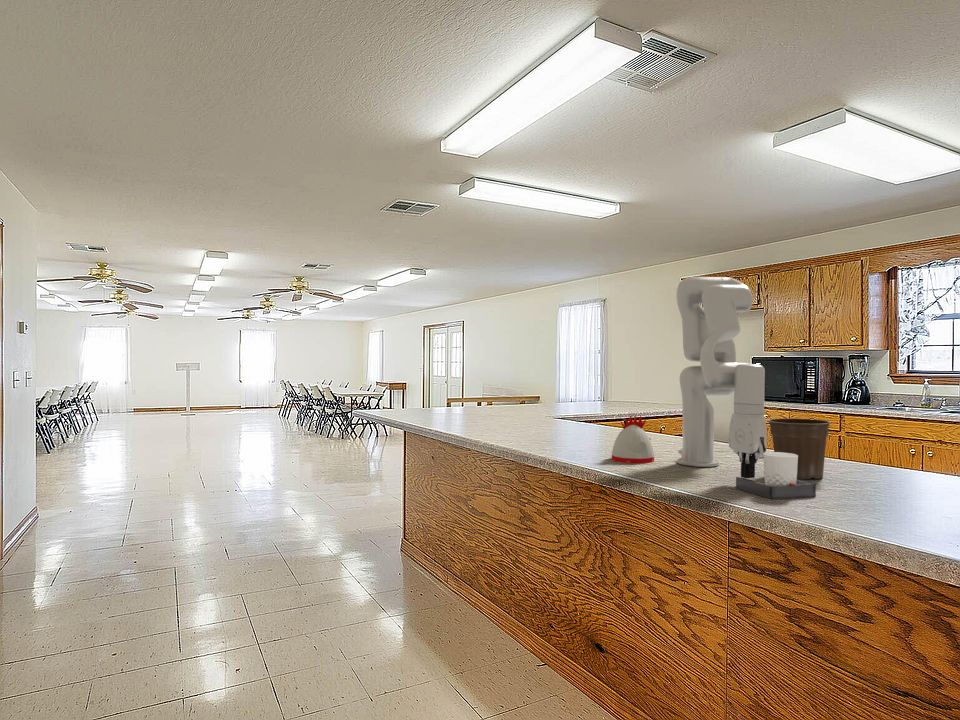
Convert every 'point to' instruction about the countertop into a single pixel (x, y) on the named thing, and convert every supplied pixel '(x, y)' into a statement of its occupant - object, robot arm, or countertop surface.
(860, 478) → the countertop surface
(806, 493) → the bracket
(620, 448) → the white and red dome
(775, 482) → the white cup
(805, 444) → the plant pot
